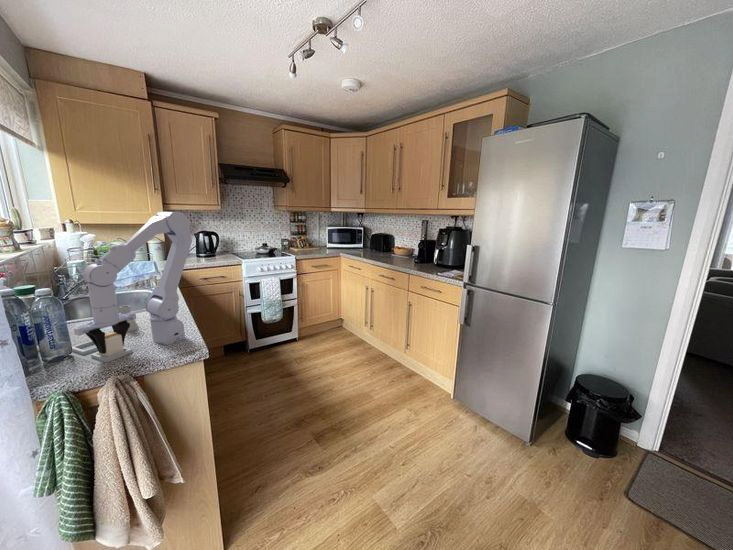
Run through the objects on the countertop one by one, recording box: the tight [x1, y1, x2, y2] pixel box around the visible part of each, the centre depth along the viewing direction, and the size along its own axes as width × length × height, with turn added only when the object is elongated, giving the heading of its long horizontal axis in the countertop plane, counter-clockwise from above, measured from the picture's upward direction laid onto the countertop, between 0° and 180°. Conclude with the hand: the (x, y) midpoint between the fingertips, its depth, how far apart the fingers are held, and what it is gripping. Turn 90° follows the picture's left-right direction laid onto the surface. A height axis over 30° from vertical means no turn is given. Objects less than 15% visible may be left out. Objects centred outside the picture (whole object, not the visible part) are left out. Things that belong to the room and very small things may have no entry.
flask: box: [118, 304, 139, 333], centre depth 109 cm, size 7×7×10 cm
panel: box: [68, 340, 139, 366], centre depth 93 cm, size 18×10×2 cm, turn 68°
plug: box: [100, 331, 124, 357], centre depth 90 cm, size 4×4×7 cm
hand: (111, 349), depth 90 cm, fingers closed on plug, 4 cm apart
